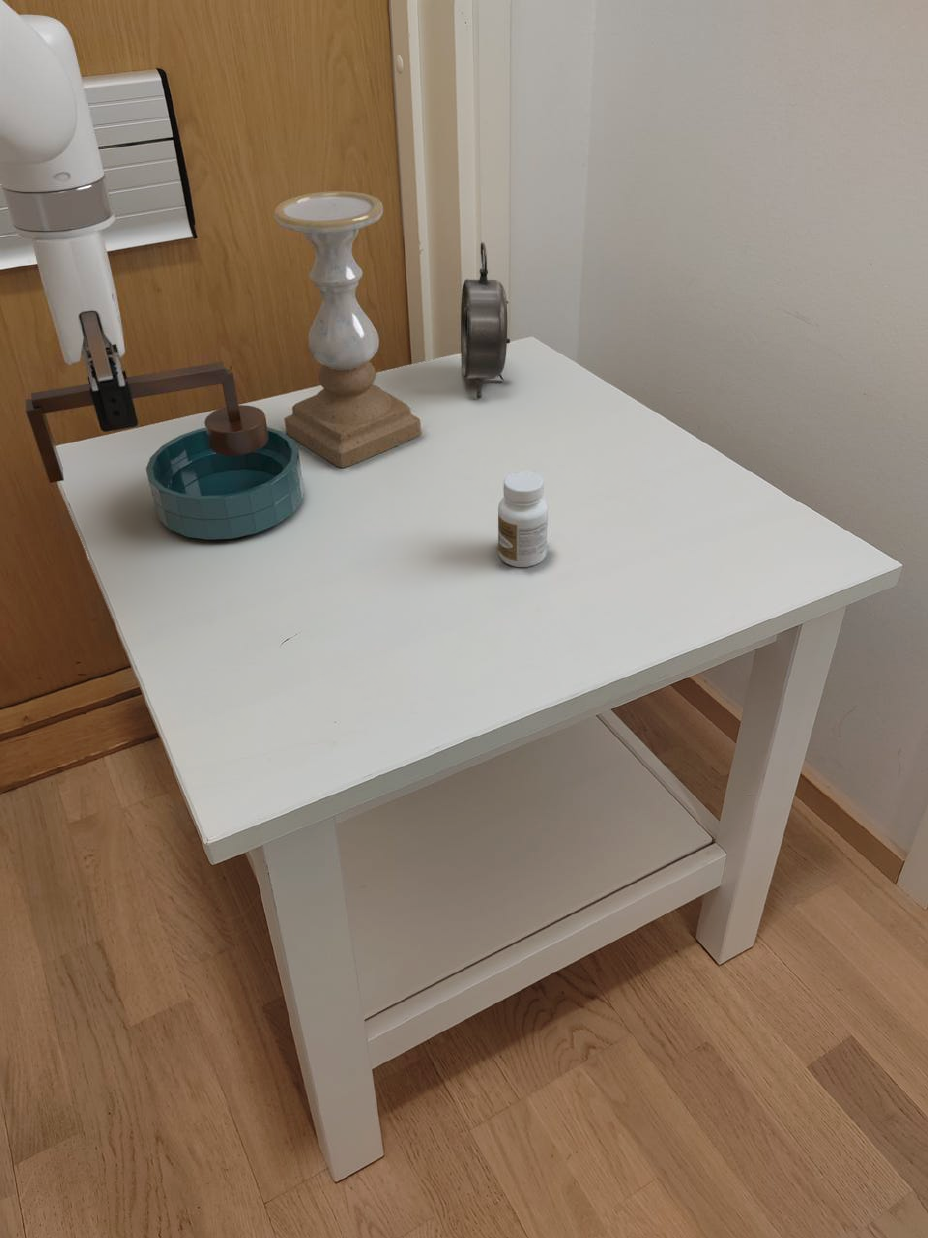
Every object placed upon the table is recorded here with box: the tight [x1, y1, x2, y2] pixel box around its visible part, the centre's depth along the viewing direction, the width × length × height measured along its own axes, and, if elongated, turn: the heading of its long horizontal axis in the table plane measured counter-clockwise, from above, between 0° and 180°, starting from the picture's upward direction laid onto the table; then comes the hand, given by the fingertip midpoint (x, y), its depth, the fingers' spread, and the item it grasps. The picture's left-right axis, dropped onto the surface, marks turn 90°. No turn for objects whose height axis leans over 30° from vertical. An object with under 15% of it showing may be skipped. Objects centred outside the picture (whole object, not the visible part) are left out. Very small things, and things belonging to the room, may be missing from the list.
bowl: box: [145, 426, 305, 541], centre depth 93 cm, size 14×14×5 cm
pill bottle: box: [497, 470, 549, 568], centre depth 84 cm, size 4×4×8 cm
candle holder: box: [274, 190, 422, 469], centre depth 97 cm, size 11×11×24 cm
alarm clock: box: [460, 241, 511, 399], centre depth 109 cm, size 11×5×16 cm, turn 3°
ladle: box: [25, 361, 269, 484], centre depth 86 cm, size 20×6×8 cm, turn 111°
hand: (118, 420), depth 85 cm, fingers closed on ladle
